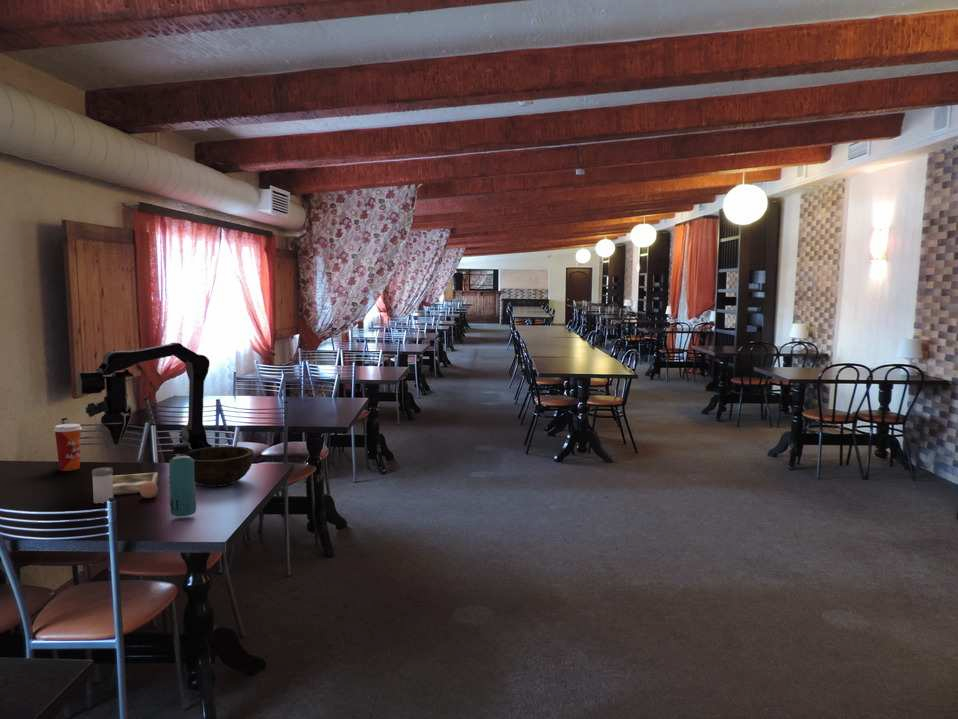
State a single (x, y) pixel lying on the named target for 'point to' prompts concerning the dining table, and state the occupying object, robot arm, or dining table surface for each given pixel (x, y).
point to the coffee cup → (68, 446)
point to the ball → (148, 489)
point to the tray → (132, 482)
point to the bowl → (220, 464)
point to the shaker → (102, 484)
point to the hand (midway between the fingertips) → (118, 441)
